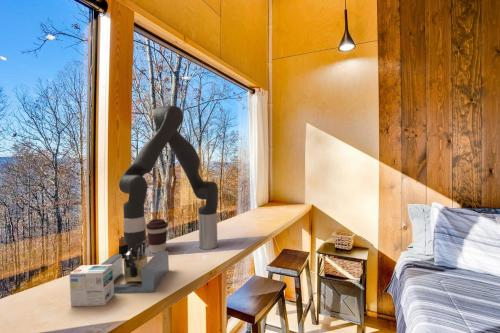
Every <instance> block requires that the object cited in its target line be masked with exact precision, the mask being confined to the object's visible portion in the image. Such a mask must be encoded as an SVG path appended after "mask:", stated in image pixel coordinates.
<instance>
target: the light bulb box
mask: <svg viewBox="0 0 500 333" xmlns="http://www.w3.org/2000/svg"><path fill="white" fill-rule="evenodd" d="M114 282H115V281H114V278H113V264H107V265H101V264H90V265H89V264H87V265H84V264H83V265H82V264H81V265H80V266H78V267H77V268H75V269H74V270H73V271H71V272H70V273H69V290H70V306H71V307H89V306H90V307H93V306H95V307H96V306H97V307H98V306H105V305H106V304H107V303H108V302H109V301H110V300H111V299H112V298H113V297H114V296H115V293H114V284H115V283H114Z"/></svg>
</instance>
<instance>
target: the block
mask: <svg viewBox="0 0 500 333" xmlns="http://www.w3.org/2000/svg"><path fill="white" fill-rule="evenodd" d="M133 258H136V257H133ZM134 262H135V261H134ZM147 263H148V255H147V254H145V255H143V256H139V259H138V260H137V277H130V268H127V267H126V263H125V259H123V273H124V274H123V275H124V282H142V272H141V269H142V268H143V267H144V266H145V265H146V264H147Z"/></svg>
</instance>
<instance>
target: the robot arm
mask: <svg viewBox="0 0 500 333" xmlns="http://www.w3.org/2000/svg"><path fill="white" fill-rule="evenodd" d="M152 119H153V122H154V125H155V126H156V127H157V129H158V130H157V131H156V133H155V134H153V136H152V137H151V138H150V139H149V140H148V141H147V142H145V144H143V146H142V147H141V149H140V150H139V152H138V154H137V155H136V157H135V160H134V161H133V163H132V164H131V165H130V166H129V167H128V168H127V169H126V170H125V171H124V173H123V174H122V176H121V177H120V178H119V179H120V180H119V182H118V187H119V190H120V191H121V192H122V193H124V194H128V199H127V200H128V201H125V202H124V203H123V227H122V228H123V235H124V243H126V244H128V245H129V246H128V253H125V254H124V257H123V258H124V259H125V263H126V267H127V268H130V277H137V260H138V259H139V256H143V255H146V247H147V246H146V244H147V242H146V240H147V231H146V230H147V228H146V225H147V223H146V217H145V203H146V198H147V194H148V192H147V191H148V182H147V179H146V178H145V177H144V176H145V175H147V174H149V173H151V172H152V170H153V169H154V166H155V165H156V163H157V161H158V159H159V157H160V155H161V153H162V151H163V150H164V148H165V147H166V145H167V144H168V145H169V147H170V149H171V150H172V152H173V154H174V155H175V158H176V160H177V162H178V164H179V165H180V166H181V168H182V170H183V172H184V174H185V176H186V177H187V179H188V181H189V184H190V187H191V189H192V191H193V193H194V196H195V197H196V198H197V199H199V200H205V204H204V205H201V206H199V207H198V241H199V242H198V246H199V249H201V250H213V249H215V248H217V247H218V212H217V211H218V204H219V187H218V184H217V183H216V182H214V181H205V180H203V179H202V178H201V175H200V173H199V172H200V166H201V159H200V156H199V154H198V152H197V150H196V148H195V147H194V145H193V144H192V143H191V142H190V141H189V140H188V139H187V138H185V137H184V136H183V135H182V134H181V133H180V132H179V130H178V129H179V128H180V126H181V125H182V123H183V120H184V113H183V111H182V109H181V108H180V107H179V106H177V105H161V106H157V107H156V108H154V110H153V113H152ZM133 257H136V258H133ZM124 259H123V260H124ZM134 261H135V262H134Z"/></svg>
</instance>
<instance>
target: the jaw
mask: <svg viewBox="0 0 500 333" xmlns="http://www.w3.org/2000/svg"><path fill="white" fill-rule="evenodd" d="M107 264H113V278H114V282H115V281H116V280H118V279H119V278H120V277H121V276H122V275H124V274H123V273H124V262H123V258H122V254H115V253H114V254H112V256H110V257H109V258H108V259H106V260H105V261H103V262H102V263H101V264H100V265H107Z"/></svg>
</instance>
